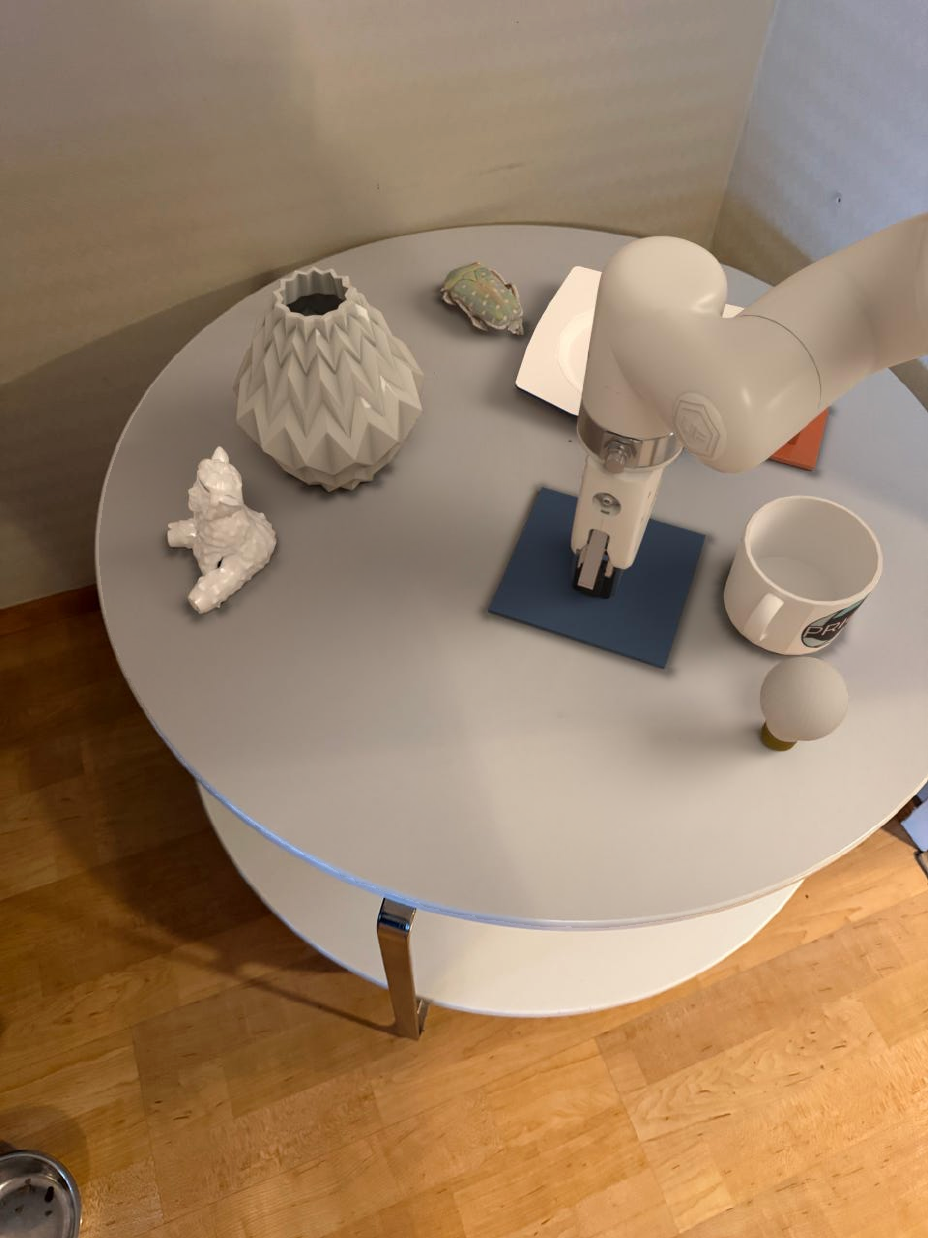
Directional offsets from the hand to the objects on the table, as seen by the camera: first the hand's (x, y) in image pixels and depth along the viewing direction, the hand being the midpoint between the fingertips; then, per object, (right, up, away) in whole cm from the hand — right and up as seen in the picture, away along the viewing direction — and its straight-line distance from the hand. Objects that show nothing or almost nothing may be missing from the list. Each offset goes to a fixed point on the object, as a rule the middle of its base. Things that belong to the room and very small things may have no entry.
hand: (599, 568), depth 80 cm
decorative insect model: (-10, +28, +18) cm, 35 cm away
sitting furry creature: (-32, +1, +1) cm, 32 cm away
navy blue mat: (0, 0, +1) cm, 1 cm away
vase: (-23, +11, +7) cm, 26 cm away
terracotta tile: (+18, +14, +9) cm, 25 cm away
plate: (+5, +21, +14) cm, 25 cm away
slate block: (0, 0, 0) cm, 0 cm away
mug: (+14, -4, -1) cm, 15 cm away
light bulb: (+12, -14, -7) cm, 20 cm away
